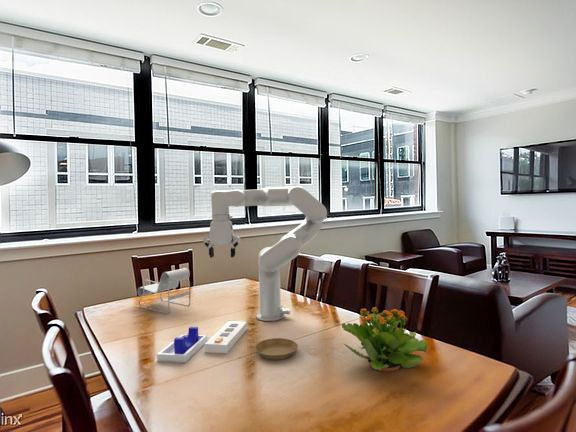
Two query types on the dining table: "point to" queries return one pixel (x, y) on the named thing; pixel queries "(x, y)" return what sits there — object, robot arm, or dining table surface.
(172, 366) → the dining table surface
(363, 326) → the potted flower
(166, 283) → the chair
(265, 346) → the plant saucer
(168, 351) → the cable tray
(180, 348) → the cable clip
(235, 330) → the power strip
